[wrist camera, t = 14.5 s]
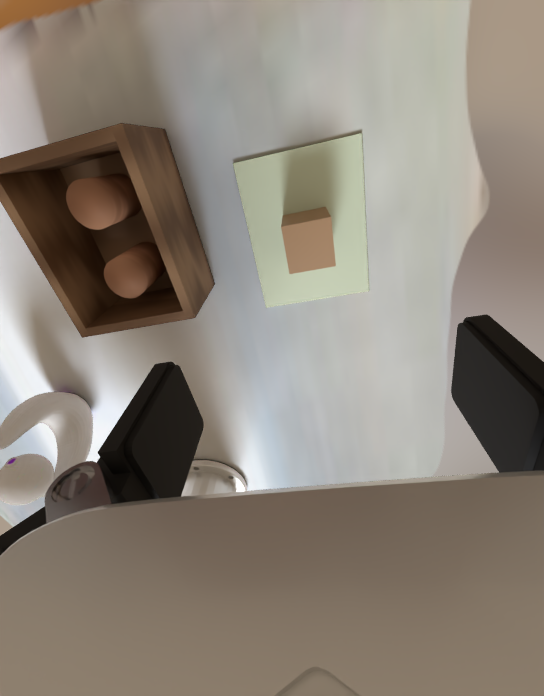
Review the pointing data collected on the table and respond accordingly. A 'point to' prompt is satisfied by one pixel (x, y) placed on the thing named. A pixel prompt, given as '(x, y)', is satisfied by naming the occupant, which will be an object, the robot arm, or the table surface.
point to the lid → (307, 220)
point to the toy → (35, 470)
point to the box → (110, 227)
